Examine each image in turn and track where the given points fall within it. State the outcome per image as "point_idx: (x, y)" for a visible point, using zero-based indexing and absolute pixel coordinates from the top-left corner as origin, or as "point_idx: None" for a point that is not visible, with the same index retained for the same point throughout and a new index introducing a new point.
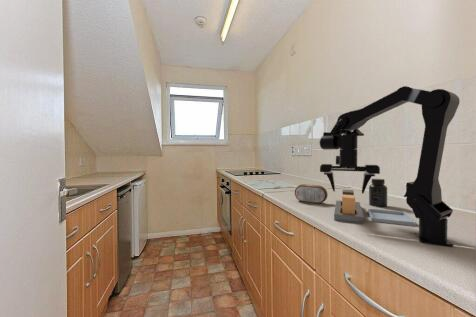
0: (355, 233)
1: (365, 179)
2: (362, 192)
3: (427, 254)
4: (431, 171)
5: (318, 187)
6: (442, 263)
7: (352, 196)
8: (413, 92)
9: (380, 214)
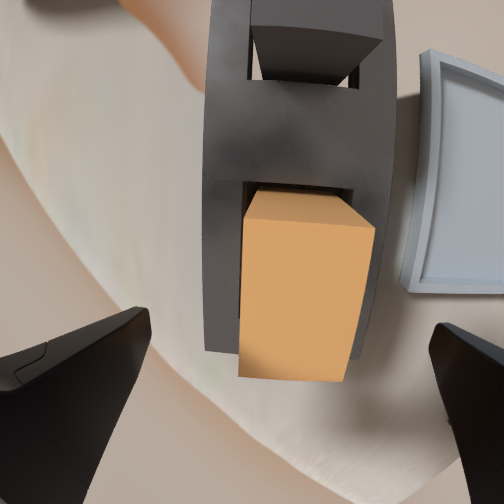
0: (290, 428)
1: (478, 501)
2: (432, 360)
3: (412, 464)
4: None
5: None
6: (410, 479)
7: (339, 308)
8: None
9: (475, 122)
